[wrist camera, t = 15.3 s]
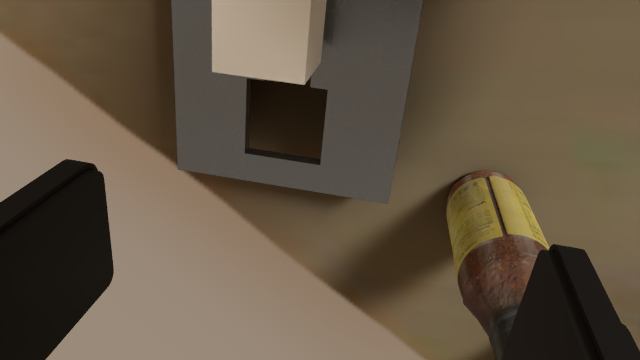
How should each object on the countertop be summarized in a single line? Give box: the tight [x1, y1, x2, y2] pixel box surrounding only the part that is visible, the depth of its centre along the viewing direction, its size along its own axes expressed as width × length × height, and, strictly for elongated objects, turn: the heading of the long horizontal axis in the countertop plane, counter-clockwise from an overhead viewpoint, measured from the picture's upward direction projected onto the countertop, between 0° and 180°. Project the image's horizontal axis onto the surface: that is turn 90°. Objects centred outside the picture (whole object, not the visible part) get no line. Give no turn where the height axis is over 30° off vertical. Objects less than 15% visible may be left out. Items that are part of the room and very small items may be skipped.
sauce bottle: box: [446, 171, 549, 360], centre depth 34 cm, size 7×6×20 cm
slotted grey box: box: [171, 0, 423, 204], centre depth 37 cm, size 17×16×6 cm
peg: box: [212, 0, 327, 85], centre depth 32 cm, size 5×5×14 cm
